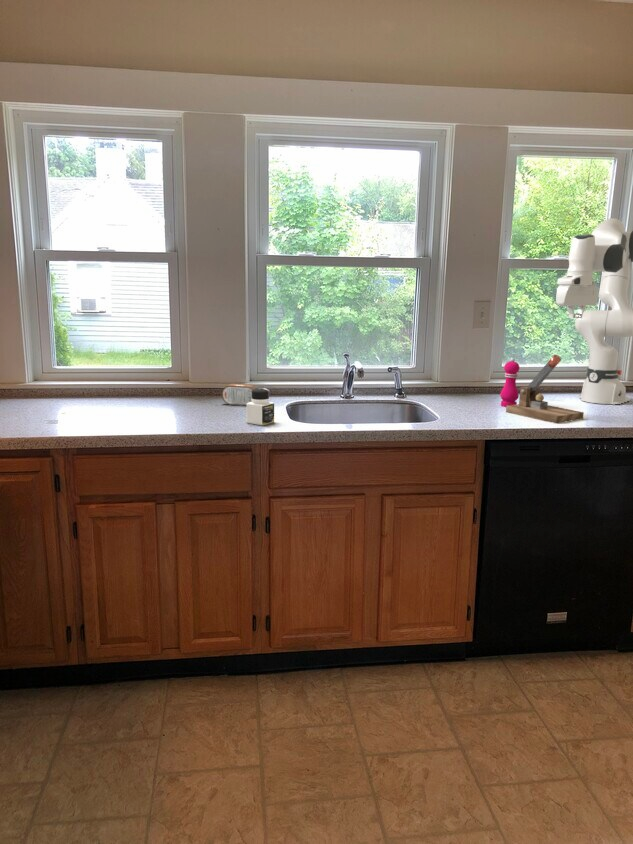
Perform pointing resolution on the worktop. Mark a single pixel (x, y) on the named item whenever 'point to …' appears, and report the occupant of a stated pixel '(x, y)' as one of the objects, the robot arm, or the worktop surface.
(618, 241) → the robot arm
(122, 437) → the worktop surface
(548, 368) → the lever
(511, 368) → the pepper mill
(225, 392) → the tin
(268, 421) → the medicine bottle
